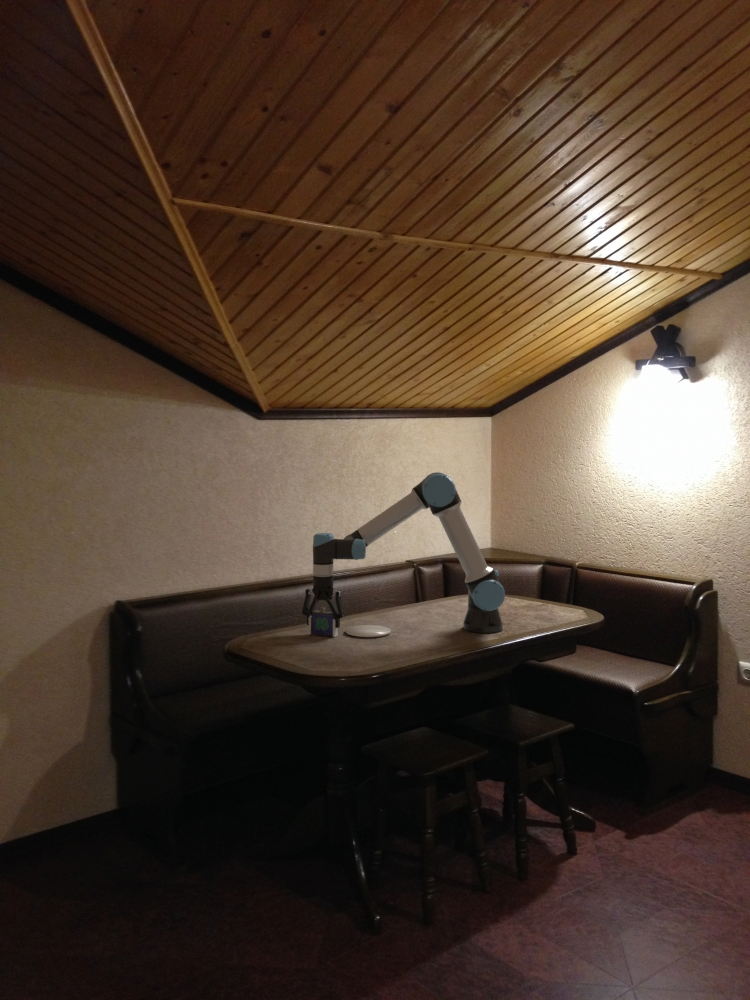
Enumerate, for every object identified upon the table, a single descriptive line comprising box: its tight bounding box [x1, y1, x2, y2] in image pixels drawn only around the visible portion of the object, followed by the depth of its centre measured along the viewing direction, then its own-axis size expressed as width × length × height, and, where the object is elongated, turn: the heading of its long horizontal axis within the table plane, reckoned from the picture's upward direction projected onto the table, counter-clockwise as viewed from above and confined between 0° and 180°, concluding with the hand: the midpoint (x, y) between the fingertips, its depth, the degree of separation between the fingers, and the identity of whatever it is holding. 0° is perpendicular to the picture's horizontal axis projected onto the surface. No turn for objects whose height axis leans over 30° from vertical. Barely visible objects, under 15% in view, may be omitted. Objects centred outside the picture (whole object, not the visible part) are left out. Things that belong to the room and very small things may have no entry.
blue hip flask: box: [311, 606, 335, 638], centre depth 306 cm, size 9×3×11 cm, turn 74°
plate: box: [345, 624, 392, 638], centre depth 310 cm, size 17×17×1 cm
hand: (323, 634), depth 306 cm, fingers closed on blue hip flask, 9 cm apart
